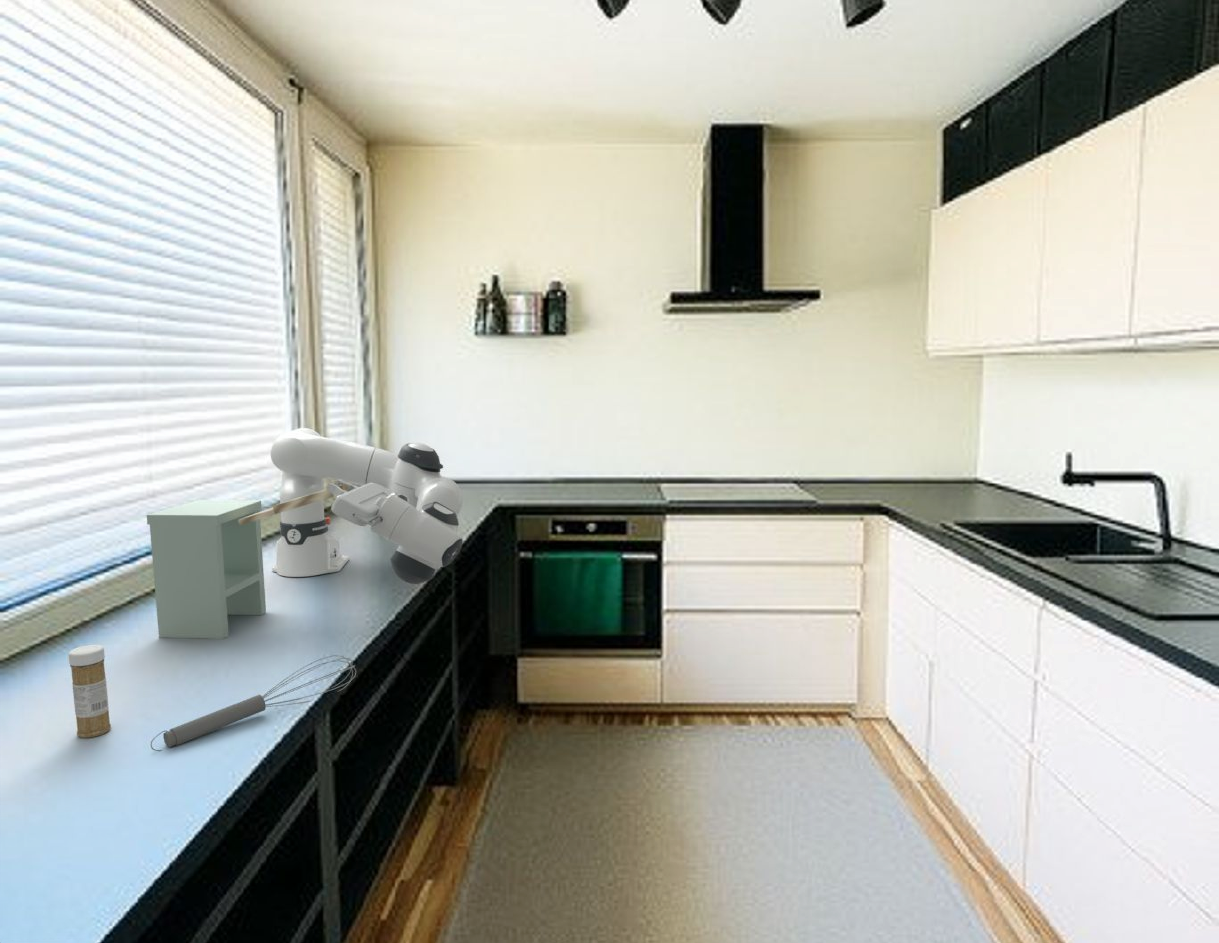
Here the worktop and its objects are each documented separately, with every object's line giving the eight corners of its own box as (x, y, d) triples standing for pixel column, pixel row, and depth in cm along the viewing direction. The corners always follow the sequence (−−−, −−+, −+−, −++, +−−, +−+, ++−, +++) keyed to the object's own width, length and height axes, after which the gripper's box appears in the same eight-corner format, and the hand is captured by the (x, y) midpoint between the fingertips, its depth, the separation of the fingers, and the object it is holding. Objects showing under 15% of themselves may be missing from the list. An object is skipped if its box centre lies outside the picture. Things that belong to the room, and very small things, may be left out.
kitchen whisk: (143, 748, 121) (140, 707, 120) (344, 681, 147) (343, 647, 146) (160, 760, 117) (157, 719, 116) (364, 689, 143) (362, 655, 142)
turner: (239, 525, 170) (236, 517, 170) (256, 519, 177) (253, 511, 177) (340, 494, 168) (337, 486, 168) (353, 489, 175) (350, 481, 175)
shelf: (205, 611, 187) (197, 500, 184) (268, 612, 186) (261, 500, 183) (156, 637, 169) (146, 514, 166) (225, 638, 168) (216, 515, 165)
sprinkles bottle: (106, 723, 129) (98, 641, 127) (115, 731, 126) (107, 648, 124) (72, 732, 125) (64, 649, 124) (81, 741, 122) (72, 656, 121)
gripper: (364, 539, 162) (304, 505, 162) (397, 520, 182) (344, 489, 182) (378, 512, 161) (317, 478, 161) (410, 496, 181) (356, 465, 181)
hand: (332, 484), depth 171 cm, fingers closed on turner, 2 cm apart
